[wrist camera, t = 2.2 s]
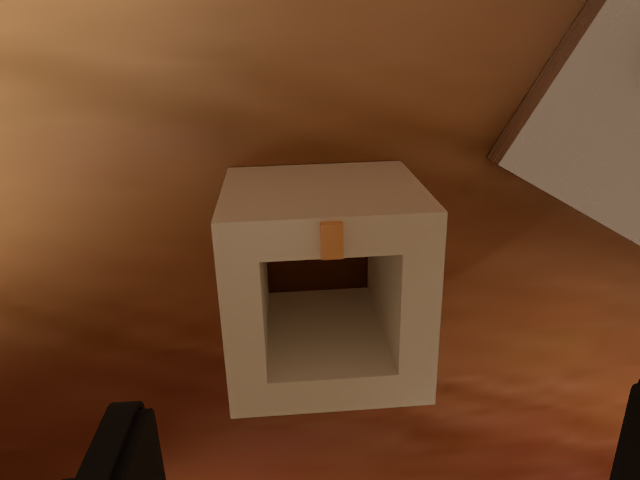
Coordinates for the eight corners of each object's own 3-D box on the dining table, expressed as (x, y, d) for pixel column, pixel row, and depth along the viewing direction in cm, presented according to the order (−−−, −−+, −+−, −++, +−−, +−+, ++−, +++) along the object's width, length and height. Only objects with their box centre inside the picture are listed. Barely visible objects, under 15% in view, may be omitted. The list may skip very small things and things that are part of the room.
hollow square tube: (395, 311, 23) (437, 410, 17) (241, 320, 23) (230, 425, 17) (400, 160, 21) (451, 215, 15) (227, 167, 20) (209, 227, 14)
